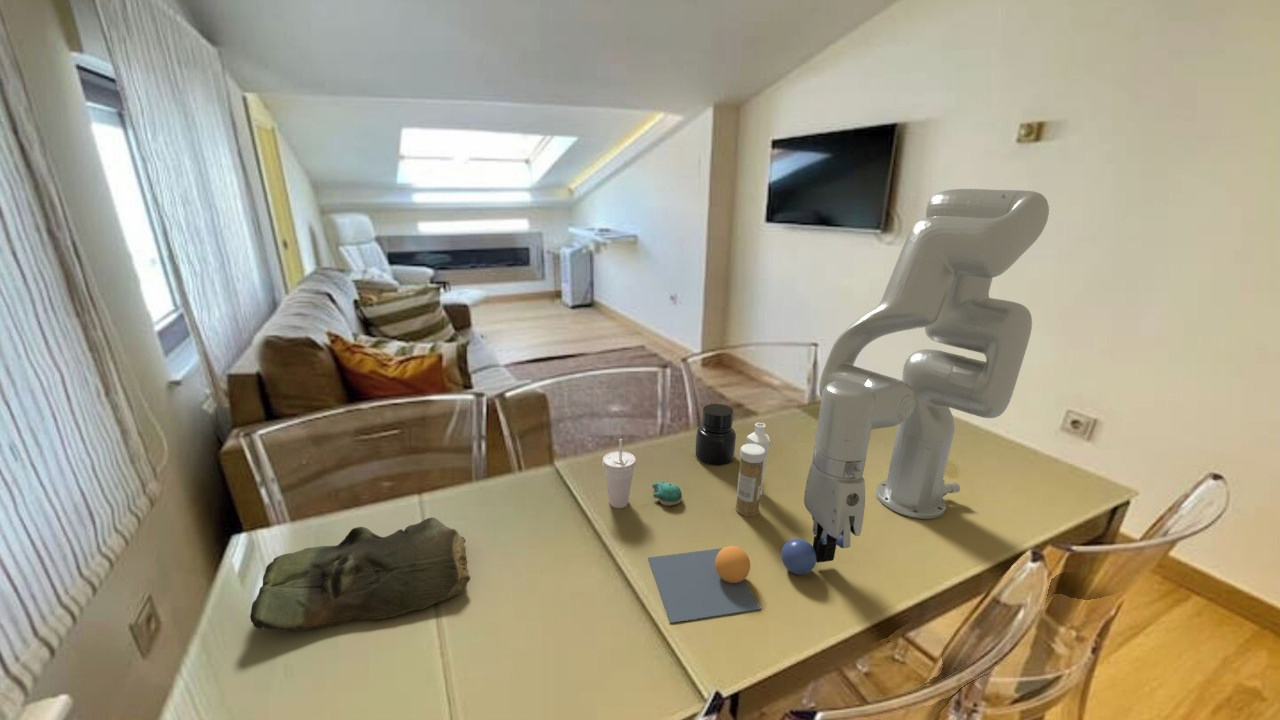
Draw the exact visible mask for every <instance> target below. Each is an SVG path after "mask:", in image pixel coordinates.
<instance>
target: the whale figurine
mask: <svg viewBox="0 0 1280 720" xmlns="http://www.w3.org/2000/svg"><path fill="white" fill-rule="evenodd" d="M651 485H652V486H651V487H652V489H654V490H655V491H656V492H654V493H653V496H652V497H654V498H655V499H658V501H659V503H660V504H662V505H664V506H675V505H678V504H680V502H681V500H682V497H683V495H682V490H681V488H680V486H678V485H677V484H675V483H669V482H665V481H659V482H655V483H652V484H651Z"/></svg>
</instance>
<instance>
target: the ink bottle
mask: <svg viewBox="0 0 1280 720" xmlns="http://www.w3.org/2000/svg"><path fill="white" fill-rule="evenodd" d="M733 418H734V409H733V408H732V407H731V406H728V405H726V404H722V403H710V404H706V405H705V406H703V408H702V420H701V421H702V422H701V423H702V424H701V425H699V427H698V428H697V429H696V438H695V457H696V458H697V460H698V461H700V462H701V463H703V464H705V465H710V466H726V465H729V464H731V463H732V462H733V461H734V458H735V450H736V439H737V434H736V431H735V430H734V428H733V427H732V426H733Z"/></svg>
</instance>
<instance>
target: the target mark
mask: <svg viewBox="0 0 1280 720" xmlns="http://www.w3.org/2000/svg"><path fill="white" fill-rule="evenodd" d="M723 548H724V547H721V548H713V549H706V550H698V551H697V550H696V551H689V552H682V553H681V552H680V553H675V554H673V553H672V554H666V555H665V554H664V555H658V556H649V557H647V559H648V562H649V566H650V569H651V571H652V574H653V577H654V580H655V582H656V586H657V588H658V591H659V595H660V599H661V601H662V604H663V606H664V609H666V610H665V613H666V612H667V613H666V615H668V616H667V619H668V618H669V619H668V622H669V621H670V622H669V624H670V623H672V624H676V623H675V622H678V623H682V622H681V621H685V622H688V621H687V620H691V621H696V620H695V619H698V620H704V619H708V618H709V617H711V618H716V617H723V615H724V616H729V615H735V614H741V613H742V614H743V613H749V612H754V611H756V612H757V611H761V610H762V607H761V606H760V604H759V603H758V601H757V599H756V597H755V595H754V593H753V592H752V589H751V588H750V587H749V584H748V583H747V581H746V578H745V579H744V580H743V581H741V582H738V583H729V582H727V581H725V580H723V579H722V578H721V577H720V576H719V575H718V573H717V571H716V567H715V559H716V556H717V554H718V553H719V551H720V550H721V549H723ZM703 618H704V619H703ZM709 619H710V618H709Z"/></svg>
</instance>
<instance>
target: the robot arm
mask: <svg viewBox="0 0 1280 720" xmlns="http://www.w3.org/2000/svg"><path fill="white" fill-rule="evenodd" d="M1049 215H1050V205H1049V202H1048V200H1047V198H1046V197H1045V196H1044V194H1042V193H1040V192H1037V191H1034V190H1022V189H1021V190H1019V189H1017V190H1016V189H1013V190H1012V189H1008V190H1007V189H989V188H988V189H984V188H982V189H981V188H957V189H956V188H955V189H946V190H943V191H939V192H937V193H935V194H934V195H933V196H931V198H930V199H929V201H928V203H927V206H926V210H925V218H922V219H920V220H918V221H916V222H915V223H914V224H913V226H912V227H911V228H910V230H908V234H907V237H906V238H905V241H904V242H903V246H902V247H901V248H902V249H901V251H900V253H899V256H898V257H897V261H896V263H895V266H894V268H893V270H892V273H891V275H890V278H889V281H888V283H887V285H886V287H885V291H884V292H883V293H884V294H883V296H882V297H881V298H882V299H881V300H880V302H879V304H878V305H877V306H876V307H875V308H873V309H872V310H870V311H868V312H866V313H865V314H863V315H861V316H860V317H859V318H857V319H856V320H855V321H854V322H852V323H851V324H850V325H849V326H848V327H847V328H846V329H844V331H843V332H842V333H841V334H840V335H839V336H838V338H837V339H836V340H835V341H834V344H833V345H832V348H831V350H830V352H829V354H828V357H827V359H826V362H825V365H824V368H823V370H822V373H821V376H820V379H819V388H818V391H819V397H820V398H821V399H820V400H821V401H820V405H819V406H820V407H819V412H818V413H819V414H818V418H817V419H818V420H817V427H816V434H815V442H814V446H813V447H814V448H813V454H812V460H811V464H810V467H809V471H808V474H807V479H806V481H805V487H804V488H805V489H804V496H803V497H804V498H803V503H804V506H805V508H806V510H807V511H808V512H809V514H810V515H811V516H812V517H811V518H812V521H813V522H812V524H813V525H812V533H813V535H814V537H813V542H812V547H813V548H814V550H815V552H816V557H817V559H816V563H826V562H832V561H834V559H835V554H836V548H837V546H838V547H839V548H840V549H848V548H850V547H851V534H853V535H854V536H855V537H859V536H860V535H861V533H862V531H863V524H864V517H865V508H866V482H865V481H866V480H865V478H864V477H863V475H864V470H865V465H866V458H867V454H868V449H869V442H870V438H871V433H872V430H875V429H883V428H891V427H896V426H897V429H896V434H895V438H894V443H893V449H892V452H891V453H892V454H891V459H890V464H889V467H888V473H887V477H886V480H884V481H882V482H880V483H879V484H878V485H877V486H876V490H875V494H876V497H877V499H878V500H879V501H880V503H882V504H883V505H884V506H885V507H887V508H888V509H890V510H892V511H893V512H896V513H899V514H900V515H903V516H906V517H910V518H914V519H920V520H923V519H924V520H930V519H931V520H932V519H937V518H939V517H942V516H943V515H944V514H945V512H946V509H947V503H946V501H945V499H944V496H946V495H947V494H956V493H959V492H960V491H961V487H960V485H959V483H957V482H951V483H945V480H944V476H945V472H946V469H947V464H948V461H949V454H950V451H951V447H952V443H953V439H954V435H955V432H956V431H955V429H956V425H955V420H954V416H953V413H952V411H951V409H954V410H957V411H960V412H963V413H965V414H966V413H967V414H969V415H971V416H972V415H973V416H976V417H980V418H985V419H995V418H998V417H1000V416H1001V415H1002V414H1004V412H1006V410H1007V408H1008V406H1009V404H1010V402H1011V399H1012V396H1013V393H1014V391H1015V387H1016V386H1017V385H1016V383H1017V381H1018V378H1019V375H1020V371H1021V368H1022V366H1023V365H1022V364H1023V361H1024V358H1025V356H1026V355H1025V354H1026V351H1027V349H1028V345H1029V341H1030V338H1031V333H1032V327H1033V317H1032V313H1031V312H1030V310H1029V309H1028V308H1027V307H1026V306H1025V305H1024V304H1021V303H1018V302H1016V301H1012V300H1011V301H1010V300H1005V299H998V298H993V297H990V296H989V295H990V294H989V293H990V289H991V286H992V282H993V278H996V277H998V276H1001V275H1002V274H1004V273H1005V272H1006V271H1008V270H1009V269H1010V268H1011V267H1012V266H1013V265H1014V264H1015V263H1016V262H1017V261H1018V260H1019V259H1020V257H1022V256H1023V254H1024V253H1026V251H1028V249H1030V247H1032V245H1033V244H1034V243H1036V241H1037V240H1038V239H1039V237H1040V236H1041V235H1042V232H1043V231H1044V229H1045V227H1046V225H1047V223H1048V219H1049ZM920 328H921V329H922V328H924V331H925V336H926V337H928V339H930V340H932V341H933V342H936V343H939V344H943V345H946V346H950V347H954V348H958V349H963V350H966V351H970V352H971V351H972V352H974V353H975V352H976V353H980V354H982V355H984V356H985V360H986V361H983V360H979V359H976V358H971V357H966V356H964V355H959V354H956V353H952V352H947V351H943V350H937V349H925V348H924V349H920V350H917V351H915V352H913V353H912V354H910V355H909V356H908V357H907V359H906V360H905V363H904V365H903V369H902V377H901V378H902V379H901V380H900V379H898V378H895V377H891V376H888V375H884V374H881V373H879V372H875V371H871V370H868V369H865V368H861V367H858V366H855V363H856V360H857V358H858V356H859V355H860V353H861V352H862V351H863V349H864V348H866V346H868V345H869V344H870V343H871V342H873V341H875V340H877V339H879V338H881V337H883V336H887V335H890V334H893V333H898V332H903V331H909V330H910V331H911V330H914V329H920Z"/></svg>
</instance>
